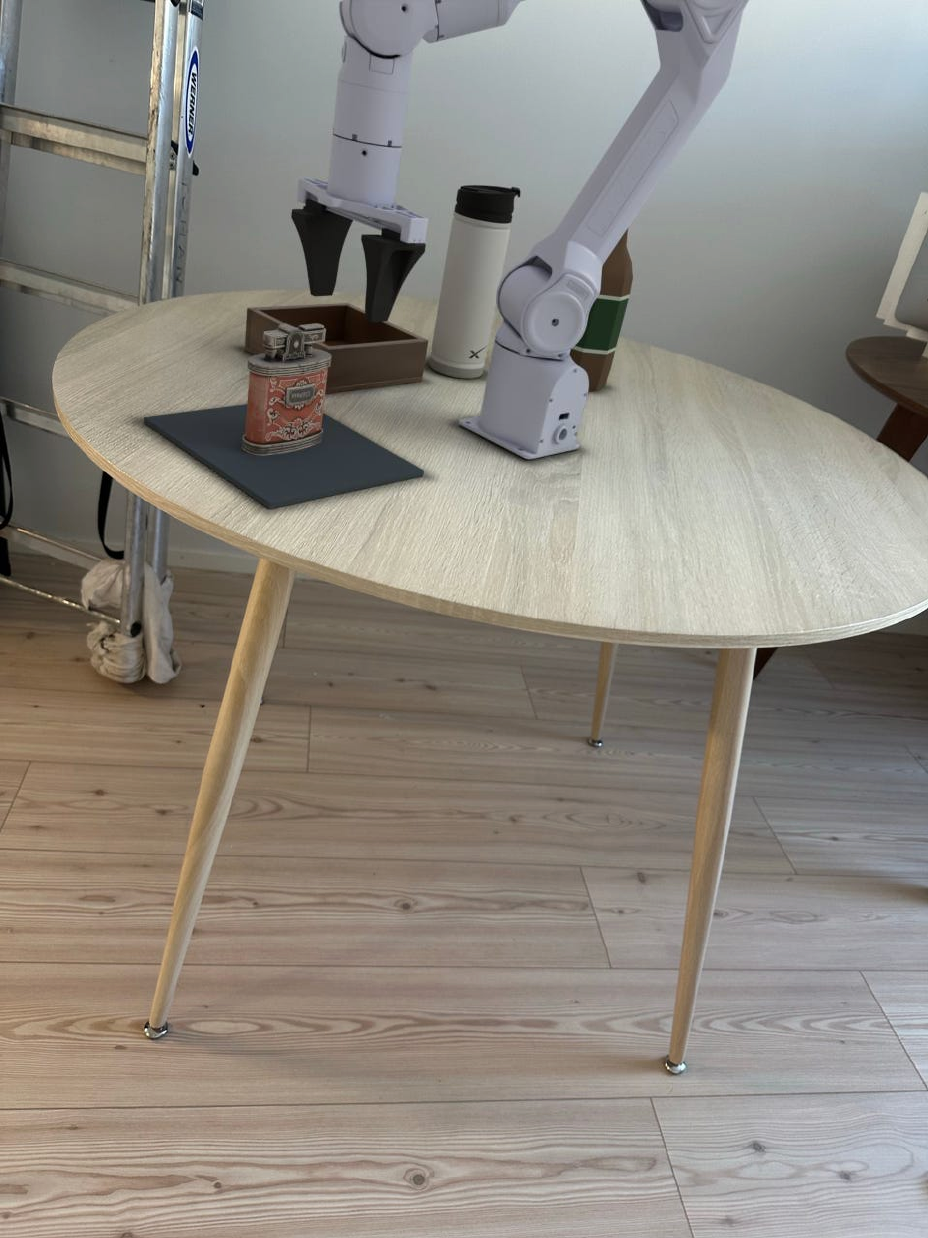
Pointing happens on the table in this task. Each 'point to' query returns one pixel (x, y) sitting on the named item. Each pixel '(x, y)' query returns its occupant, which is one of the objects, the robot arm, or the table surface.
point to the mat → (283, 457)
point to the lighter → (286, 391)
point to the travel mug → (471, 279)
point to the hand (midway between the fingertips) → (348, 307)
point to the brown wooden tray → (347, 344)
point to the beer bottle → (605, 317)
